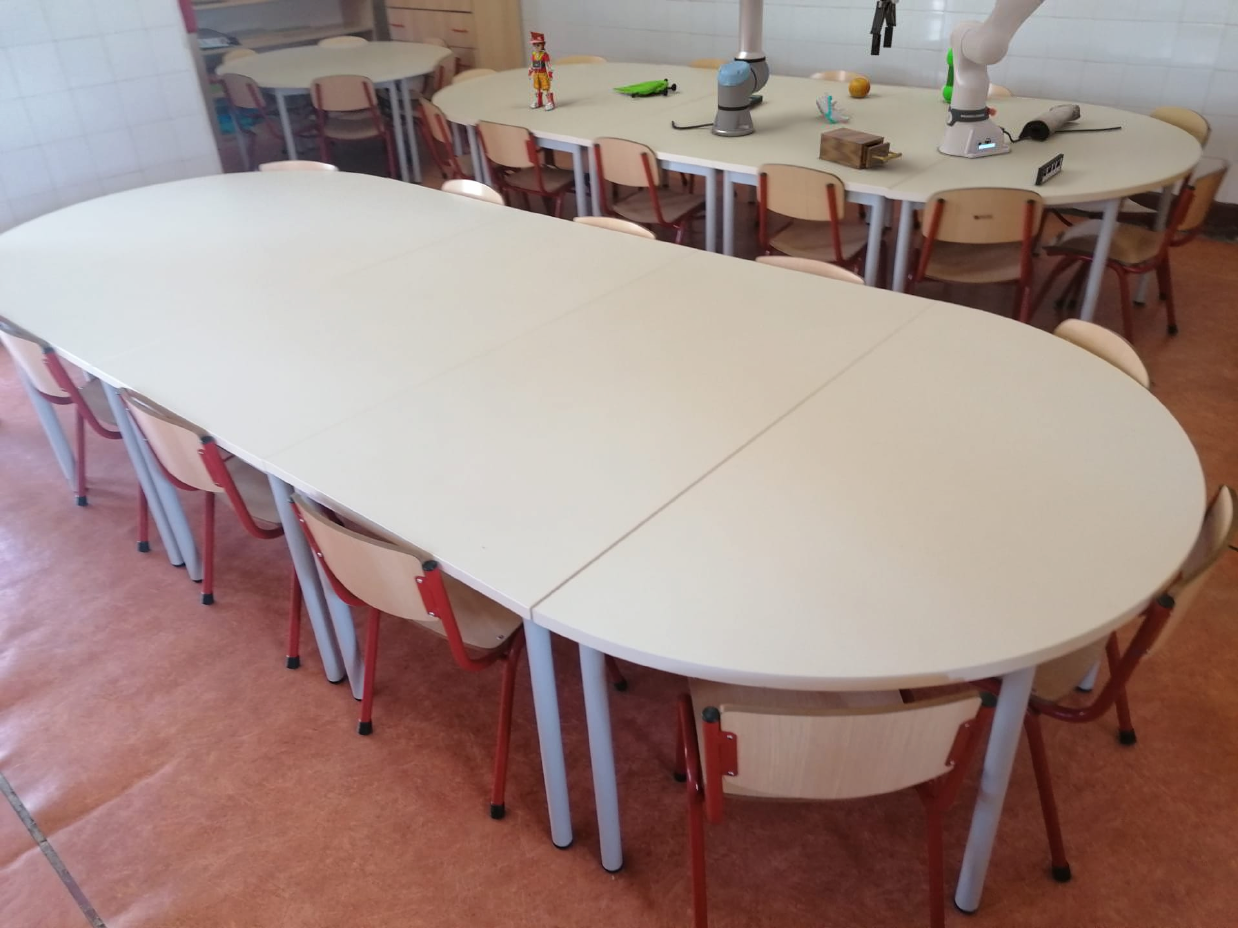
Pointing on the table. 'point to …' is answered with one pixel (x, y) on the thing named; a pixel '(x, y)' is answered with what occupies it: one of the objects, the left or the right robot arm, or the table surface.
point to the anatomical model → (830, 109)
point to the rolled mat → (1050, 122)
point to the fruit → (859, 87)
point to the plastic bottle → (949, 78)
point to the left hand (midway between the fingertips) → (881, 51)
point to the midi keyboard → (1049, 169)
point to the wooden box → (846, 146)
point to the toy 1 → (541, 71)
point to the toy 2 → (648, 88)
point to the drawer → (877, 154)
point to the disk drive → (755, 100)
